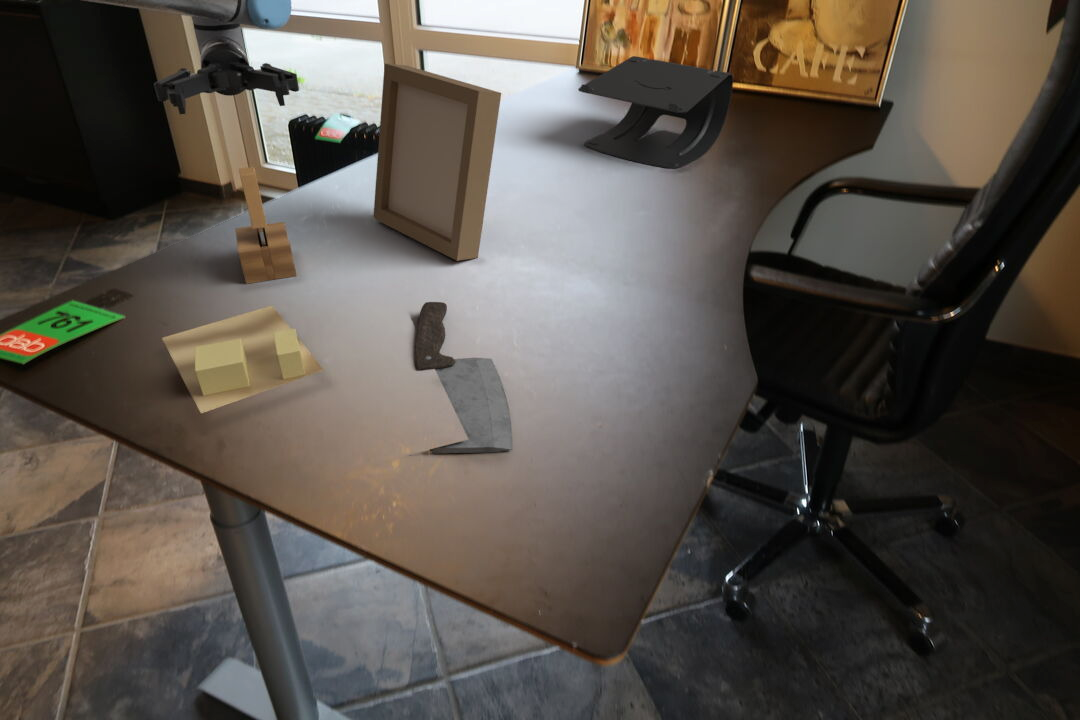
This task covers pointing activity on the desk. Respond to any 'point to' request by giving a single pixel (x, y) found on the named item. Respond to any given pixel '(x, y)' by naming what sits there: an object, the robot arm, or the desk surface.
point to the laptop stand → (662, 110)
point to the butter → (221, 367)
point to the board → (257, 349)
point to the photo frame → (435, 158)
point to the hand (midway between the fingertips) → (231, 100)
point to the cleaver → (464, 388)
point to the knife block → (265, 253)
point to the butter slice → (289, 354)
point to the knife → (253, 200)
